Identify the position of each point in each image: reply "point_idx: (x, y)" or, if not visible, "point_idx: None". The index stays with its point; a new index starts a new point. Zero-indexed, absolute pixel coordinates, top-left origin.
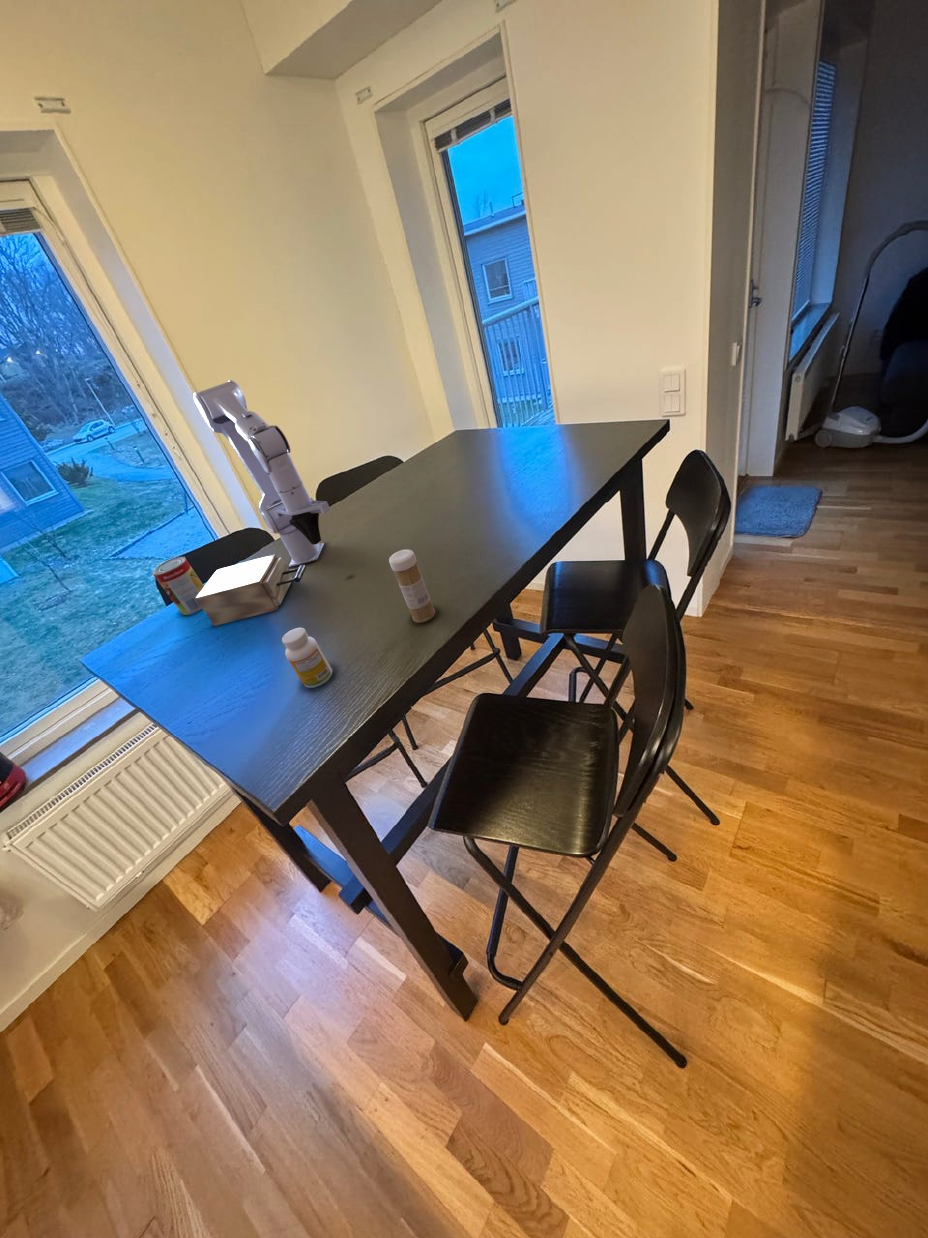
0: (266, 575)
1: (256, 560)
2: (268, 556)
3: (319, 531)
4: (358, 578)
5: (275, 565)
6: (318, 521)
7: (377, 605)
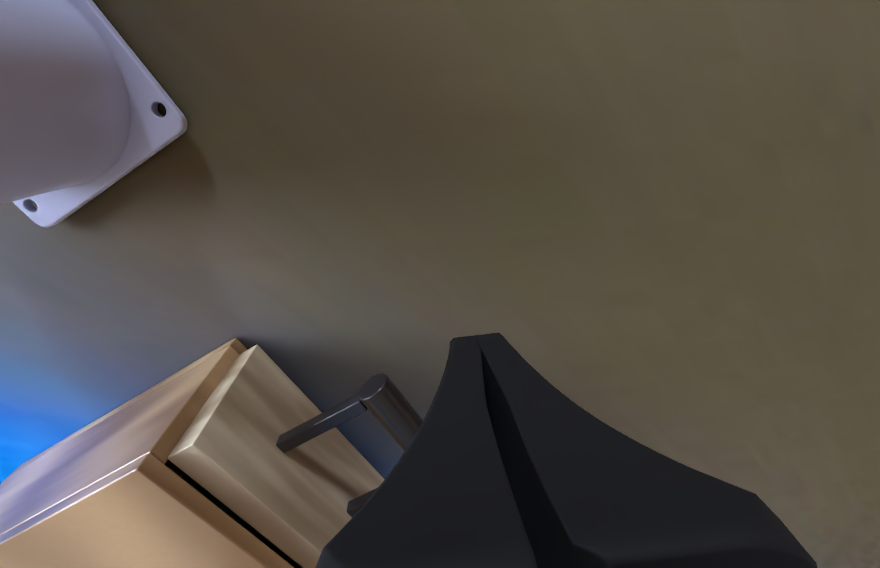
0: (244, 522)
1: (59, 538)
2: (108, 496)
3: (533, 368)
4: (646, 271)
5: (268, 515)
6: (612, 430)
7: (821, 406)
